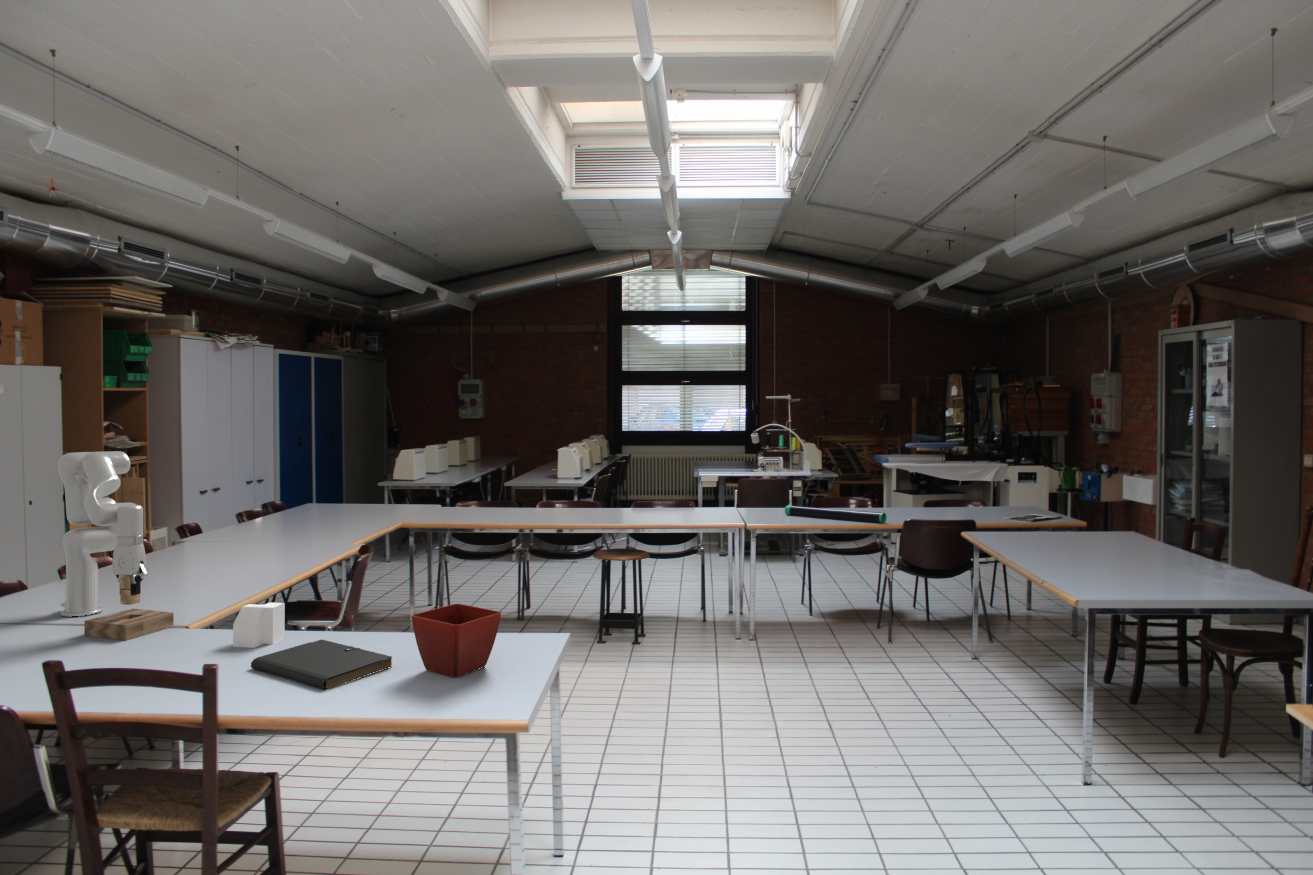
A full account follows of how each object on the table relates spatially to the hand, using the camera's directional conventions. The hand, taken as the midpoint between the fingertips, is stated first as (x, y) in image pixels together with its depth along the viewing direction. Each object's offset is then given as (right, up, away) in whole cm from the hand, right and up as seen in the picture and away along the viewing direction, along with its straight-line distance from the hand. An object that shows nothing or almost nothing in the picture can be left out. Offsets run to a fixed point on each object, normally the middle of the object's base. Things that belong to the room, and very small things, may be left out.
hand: (130, 593), depth 268 cm
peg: (0, -3, 0) cm, 3 cm away
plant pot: (+121, -16, -34) cm, 127 cm away
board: (0, -13, 0) cm, 13 cm away
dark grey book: (+81, -16, -35) cm, 90 cm away
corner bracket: (+50, -14, -10) cm, 53 cm away
